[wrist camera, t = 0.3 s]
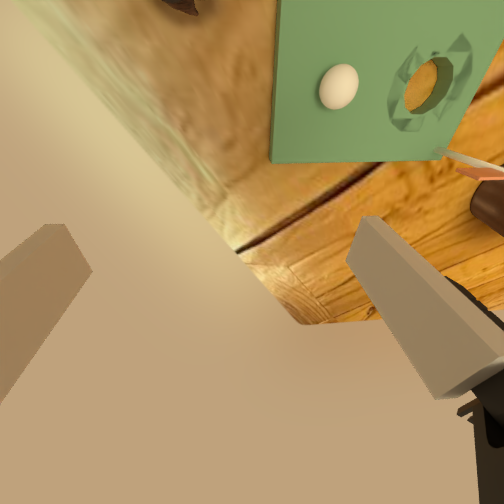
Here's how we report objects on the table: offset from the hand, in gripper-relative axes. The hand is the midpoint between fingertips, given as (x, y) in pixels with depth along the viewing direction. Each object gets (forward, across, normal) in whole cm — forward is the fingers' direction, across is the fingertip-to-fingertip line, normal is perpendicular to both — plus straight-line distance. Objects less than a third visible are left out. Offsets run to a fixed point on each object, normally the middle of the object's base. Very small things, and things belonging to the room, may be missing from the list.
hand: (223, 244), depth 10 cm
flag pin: (+25, +28, -1) cm, 37 cm away
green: (+25, +18, +6) cm, 32 cm away
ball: (+20, +12, +6) cm, 25 cm away
